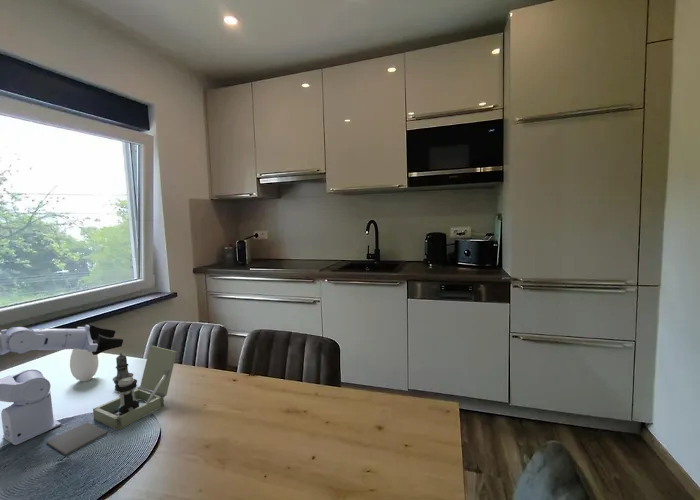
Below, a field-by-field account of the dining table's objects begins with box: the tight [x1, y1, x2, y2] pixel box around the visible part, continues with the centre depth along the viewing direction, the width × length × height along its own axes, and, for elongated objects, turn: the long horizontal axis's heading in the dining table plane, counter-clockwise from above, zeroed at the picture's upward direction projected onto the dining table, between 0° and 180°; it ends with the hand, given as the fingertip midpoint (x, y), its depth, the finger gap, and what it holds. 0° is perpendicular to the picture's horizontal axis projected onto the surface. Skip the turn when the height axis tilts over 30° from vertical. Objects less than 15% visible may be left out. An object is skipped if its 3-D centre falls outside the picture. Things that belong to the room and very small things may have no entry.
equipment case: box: [92, 345, 177, 431], centre depth 99 cm, size 18×12×15 cm, turn 152°
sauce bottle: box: [69, 349, 99, 383], centre depth 118 cm, size 8×8×18 cm
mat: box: [45, 421, 108, 456], centre depth 86 cm, size 9×10×1 cm
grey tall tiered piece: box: [112, 352, 134, 392], centre depth 112 cm, size 6×6×12 cm
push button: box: [113, 377, 140, 417], centre depth 96 cm, size 7×5×10 cm
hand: (118, 338), depth 105 cm, fingers open, 7 cm apart
